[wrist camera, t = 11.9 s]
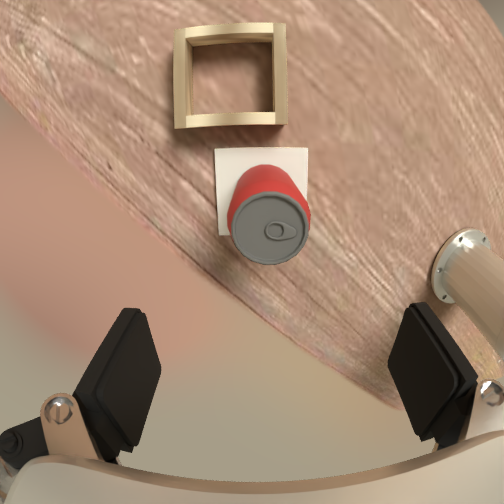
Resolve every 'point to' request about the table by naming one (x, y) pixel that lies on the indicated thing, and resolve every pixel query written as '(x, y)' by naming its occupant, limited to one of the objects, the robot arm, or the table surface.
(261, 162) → the coaster
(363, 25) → the table surface
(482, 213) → the table surface
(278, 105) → the frame
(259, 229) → the beer can
